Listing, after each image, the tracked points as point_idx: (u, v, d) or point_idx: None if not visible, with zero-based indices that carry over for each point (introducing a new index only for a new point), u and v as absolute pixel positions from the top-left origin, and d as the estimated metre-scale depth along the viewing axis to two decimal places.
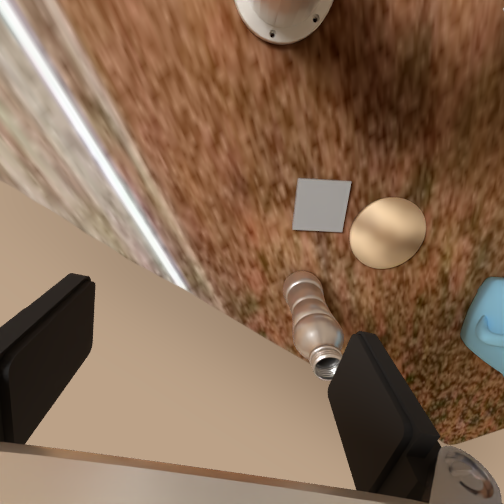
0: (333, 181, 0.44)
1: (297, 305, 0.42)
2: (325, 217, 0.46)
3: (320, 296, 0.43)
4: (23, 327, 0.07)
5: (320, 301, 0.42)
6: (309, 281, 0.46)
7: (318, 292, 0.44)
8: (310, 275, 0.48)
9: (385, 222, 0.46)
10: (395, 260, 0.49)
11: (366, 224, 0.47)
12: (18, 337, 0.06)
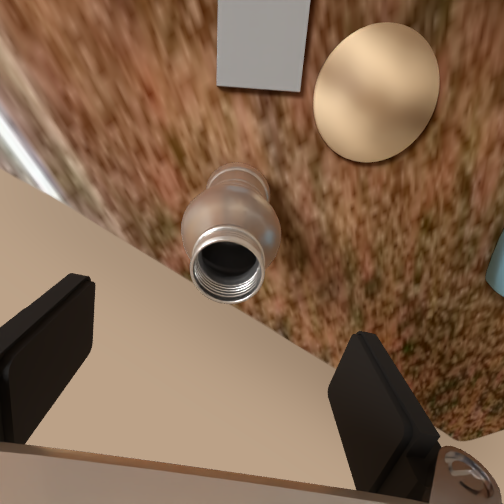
0: None
1: None
2: (270, 60, 0.27)
3: (254, 184, 0.25)
4: (23, 327, 0.07)
5: (250, 185, 0.23)
6: (242, 169, 0.27)
7: (253, 180, 0.25)
8: (247, 165, 0.29)
9: (371, 72, 0.28)
10: (388, 147, 0.30)
11: (339, 75, 0.28)
12: (18, 338, 0.06)
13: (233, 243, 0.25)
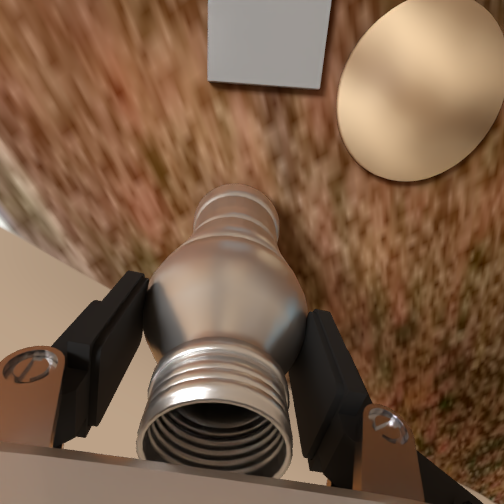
0: None
1: (192, 234, 0.15)
2: (280, 46, 0.20)
3: (260, 219, 0.17)
4: (105, 317, 0.08)
5: (254, 224, 0.16)
6: (242, 194, 0.20)
7: (258, 213, 0.18)
8: (249, 187, 0.21)
9: (417, 62, 0.20)
10: (435, 162, 0.23)
11: (374, 66, 0.20)
12: (104, 326, 0.07)
13: None
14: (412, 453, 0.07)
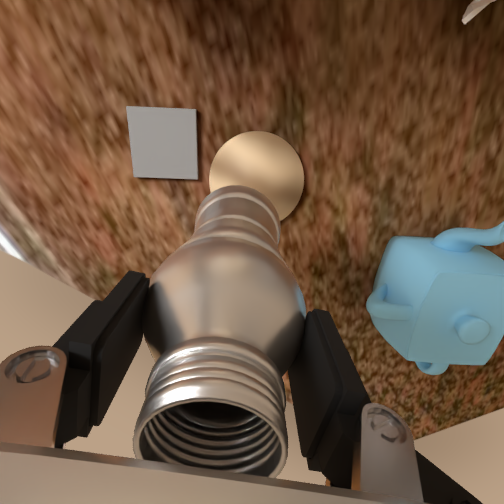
0: (172, 109, 0.34)
1: (192, 235, 0.16)
2: (172, 159, 0.36)
3: (261, 221, 0.17)
4: (106, 317, 0.08)
5: (254, 225, 0.16)
6: (243, 195, 0.20)
7: (258, 214, 0.18)
8: (250, 189, 0.22)
9: (250, 164, 0.36)
10: None
11: (225, 167, 0.37)
12: (105, 325, 0.07)
13: None
14: (411, 452, 0.07)
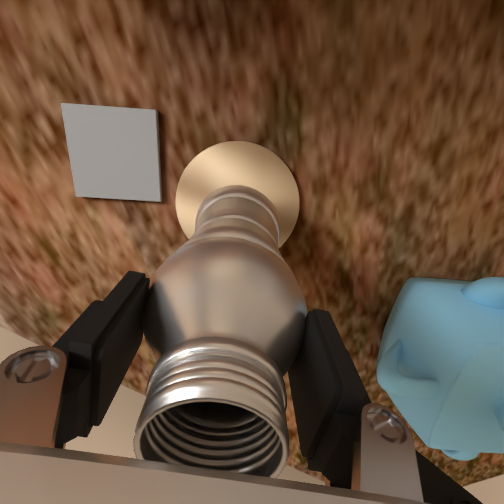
0: (124, 109, 0.25)
1: None
2: (125, 174, 0.27)
3: (261, 220, 0.17)
4: (106, 317, 0.08)
5: (255, 225, 0.16)
6: (243, 195, 0.20)
7: (259, 214, 0.18)
8: (251, 189, 0.22)
9: (229, 184, 0.28)
10: None
11: (197, 187, 0.28)
12: (105, 325, 0.07)
13: None
14: (411, 452, 0.07)
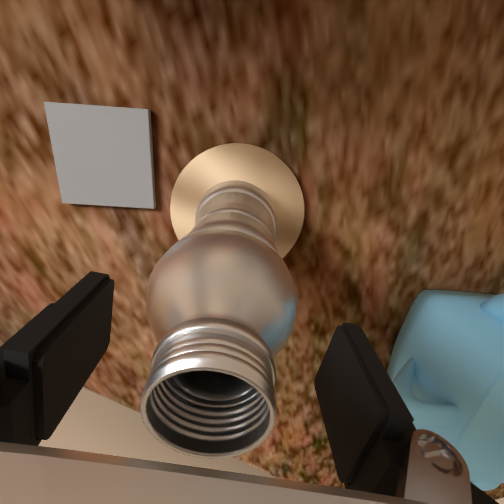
0: (113, 108, 0.23)
1: (192, 229, 0.16)
2: (116, 179, 0.25)
3: (258, 215, 0.18)
4: (53, 322, 0.07)
5: (251, 219, 0.17)
6: (241, 190, 0.21)
7: (256, 208, 0.19)
8: (248, 184, 0.22)
9: None
10: None
11: (193, 193, 0.26)
12: (49, 332, 0.07)
13: None
14: (465, 488, 0.06)
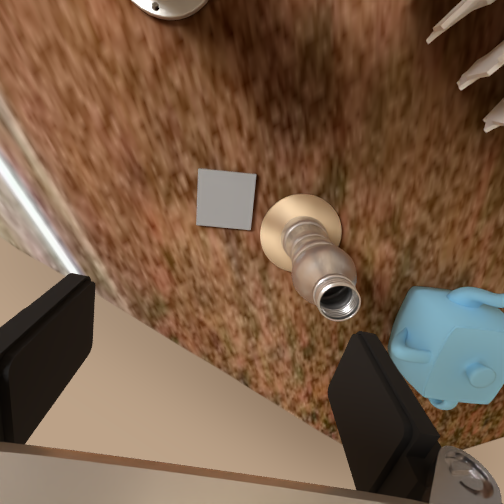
0: (236, 173, 0.41)
1: (298, 243, 0.33)
2: (231, 212, 0.42)
3: (326, 237, 0.35)
4: (23, 327, 0.07)
5: (326, 239, 0.34)
6: (312, 223, 0.38)
7: (324, 233, 0.36)
8: (314, 219, 0.40)
9: None
10: None
11: (276, 222, 0.43)
12: (17, 338, 0.06)
13: None
14: None
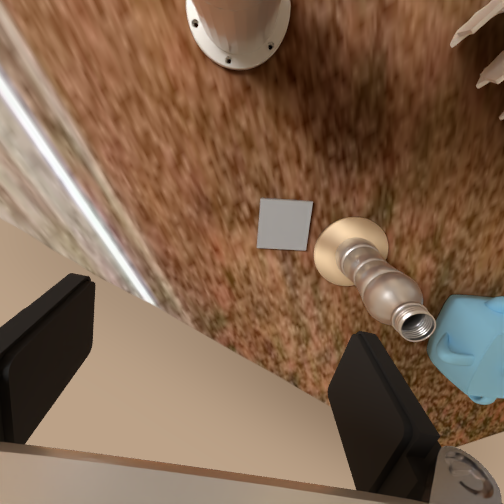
0: (295, 201, 0.45)
1: (362, 268, 0.38)
2: (288, 235, 0.47)
3: (384, 260, 0.40)
4: (23, 327, 0.07)
5: (387, 263, 0.38)
6: (368, 246, 0.43)
7: (381, 256, 0.41)
8: (367, 241, 0.44)
9: None
10: None
11: (329, 242, 0.47)
12: (17, 338, 0.06)
13: None
14: None
